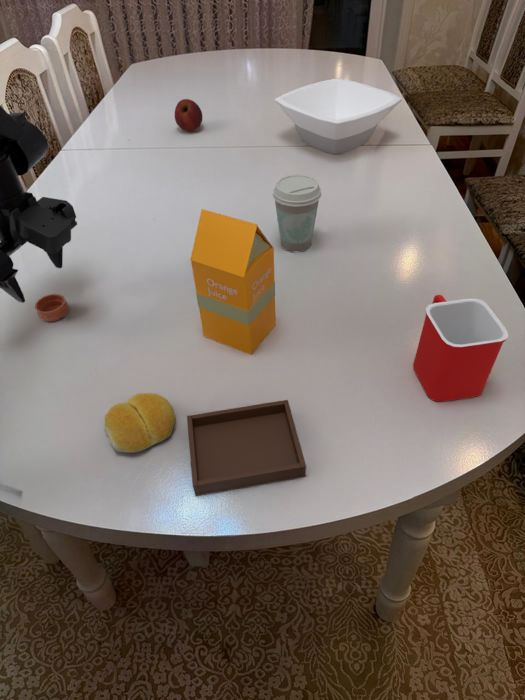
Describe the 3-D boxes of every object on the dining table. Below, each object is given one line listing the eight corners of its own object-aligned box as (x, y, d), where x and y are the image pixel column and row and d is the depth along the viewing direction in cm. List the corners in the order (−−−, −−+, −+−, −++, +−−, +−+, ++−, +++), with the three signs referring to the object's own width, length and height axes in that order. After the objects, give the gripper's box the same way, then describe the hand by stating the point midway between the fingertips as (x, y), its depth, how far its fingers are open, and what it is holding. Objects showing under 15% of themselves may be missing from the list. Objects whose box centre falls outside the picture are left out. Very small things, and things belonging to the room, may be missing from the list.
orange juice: (229, 307, 82) (217, 195, 68) (276, 324, 78) (273, 210, 64) (202, 336, 77) (183, 222, 63) (251, 356, 74) (241, 240, 60)
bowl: (335, 171, 115) (338, 126, 108) (267, 139, 129) (266, 97, 122) (404, 141, 125) (411, 98, 118) (334, 115, 140) (336, 75, 132)
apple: (171, 133, 134) (166, 102, 129) (185, 123, 139) (180, 92, 134) (195, 137, 132) (191, 105, 127) (208, 126, 137) (205, 95, 132)
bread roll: (186, 431, 65) (181, 413, 62) (121, 465, 61) (113, 447, 58) (159, 391, 70) (154, 372, 67) (98, 421, 66) (90, 402, 63)
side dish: (37, 324, 81) (32, 314, 79) (41, 306, 84) (37, 296, 82) (67, 320, 81) (63, 310, 80) (70, 302, 84) (66, 292, 83)
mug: (488, 396, 67) (514, 339, 59) (430, 405, 66) (448, 348, 58) (451, 336, 75) (468, 279, 68) (398, 343, 74) (410, 287, 67)
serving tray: (195, 496, 58) (192, 486, 56) (189, 426, 65) (186, 415, 64) (305, 476, 59) (306, 466, 58) (287, 410, 66) (287, 399, 65)
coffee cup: (270, 254, 92) (268, 194, 84) (277, 230, 98) (276, 171, 90) (316, 257, 91) (319, 197, 83) (320, 232, 97) (323, 173, 88)
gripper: (0, 237, 59) (46, 333, 70) (90, 168, 71) (117, 259, 82) (-71, 223, 62) (-17, 317, 73) (27, 160, 74) (61, 248, 85)
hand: (41, 284), depth 78 cm, fingers open, 9 cm apart
